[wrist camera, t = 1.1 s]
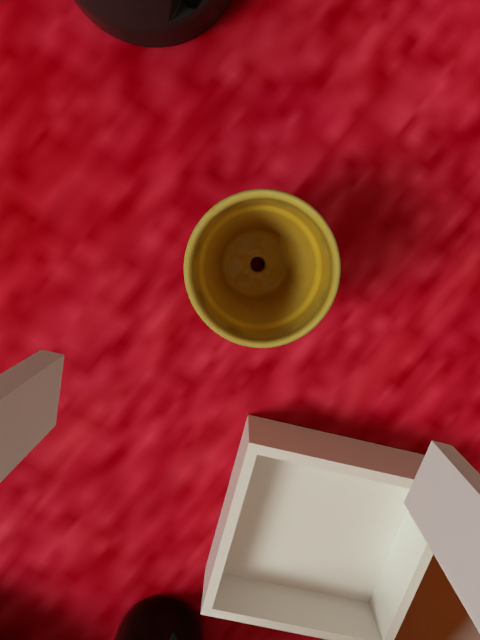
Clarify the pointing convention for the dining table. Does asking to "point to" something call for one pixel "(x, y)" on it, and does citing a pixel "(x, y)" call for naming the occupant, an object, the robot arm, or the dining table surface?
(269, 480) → the bin
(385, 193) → the dining table surface
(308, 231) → the plant pot
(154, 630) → the beer bottle
